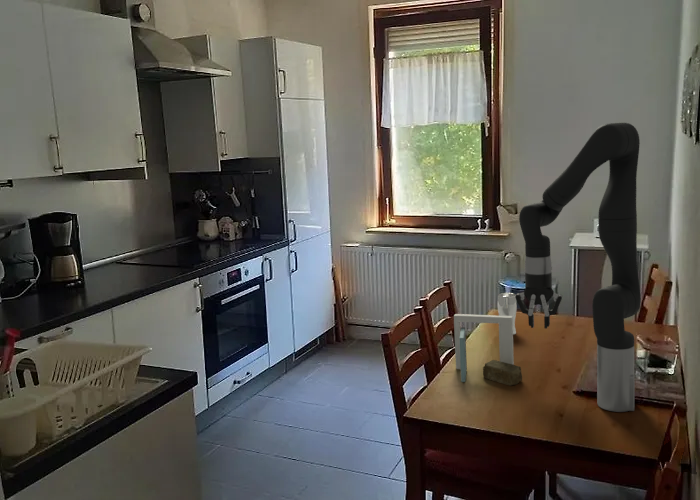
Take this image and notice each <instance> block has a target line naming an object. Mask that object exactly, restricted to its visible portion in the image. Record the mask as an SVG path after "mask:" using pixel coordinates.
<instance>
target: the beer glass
mask: <svg viewBox="0 0 700 500" xmlns="http://www.w3.org/2000/svg"><path fill="white" fill-rule="evenodd" d="M516 295H517V293H516V294H515V293H513V292H502V293H498V294H497V311H498V316H512V319H513V336H515V335H516V334H517V331H516V330H517V329H516V325H515V324H516V315H517V308H518V307H517V304H518V303H517V300H516V298H515V296H516Z"/></svg>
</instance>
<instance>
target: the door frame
mask: <svg viewBox="0 0 700 500" xmlns="http://www.w3.org/2000/svg"><path fill="white" fill-rule="evenodd" d="M461 323H479V324H480V323H481V324H498V345H499V346H498V347H499V361H500V362H504V363H508V364H512V365H515V361H514V360H515V359H514V335H513V319H512V316H499V315H494V314H493V315H492V314H491V315H489V314H472V313H471V314H470V313H469V314H466V313H464V314H463V313H455V314H454V315H453V327H454V328H453V330H454V331H453V332H454V333H453V334H454V353H455V354H454V355H455V369H456V370H461V363H460V332H461Z"/></svg>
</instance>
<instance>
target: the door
mask: <svg viewBox="0 0 700 500" xmlns="http://www.w3.org/2000/svg"><path fill="white" fill-rule="evenodd" d="M466 335H467V334H466V327H464V326H460V363H461V369H460V379H461V380H460V382H461V383H466V378H467V370H468V369H467V368H468V367H467V366H468V365H467V363H468V362H467V340H466Z"/></svg>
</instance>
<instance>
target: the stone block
mask: <svg viewBox="0 0 700 500" xmlns="http://www.w3.org/2000/svg"><path fill="white" fill-rule="evenodd" d="M482 372H483V373H482V375H483V379H486V380H490V381H493V382H497V383H500V384H504V385H506V386H510V387H511V386H515V385H517V384H519V383H520V382H521V381H523V374H522V367H521V366H519V365H515V364H514V365H512V364H508V363H504V362H500V360H499V361H498V360H496V359H492V360H490V361H488V362H487V361H486V362H485V363H484V366H483V367H482Z"/></svg>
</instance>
